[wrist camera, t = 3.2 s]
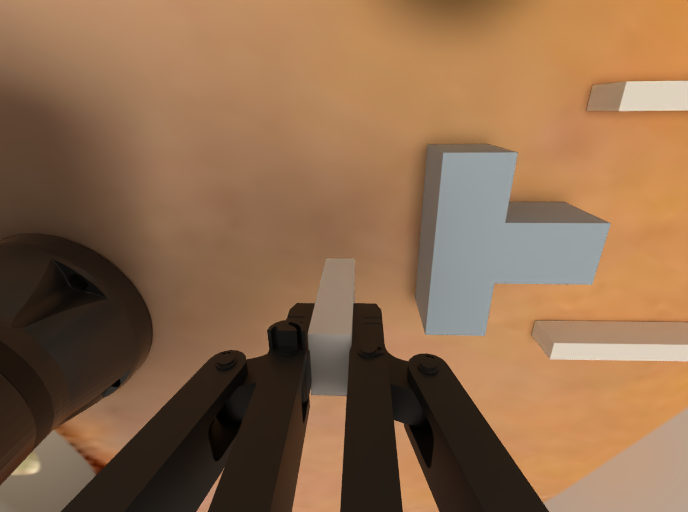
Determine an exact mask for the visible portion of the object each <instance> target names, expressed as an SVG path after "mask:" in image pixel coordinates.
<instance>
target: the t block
mask: <svg viewBox="0 0 688 512" xmlns="http://www.w3.org/2000/svg"><path fill="white" fill-rule="evenodd" d="M517 154H518V152H515V151H511V150H507V149H504V148H500V147H497V146H493V145H490V144H428V145H427V157H426V170H425V182H424V195H423V207H422V219H421V232H420V244H419V257H418V269H417V281H416V294H415V299H416V303H417V306H418V310H419V313H420V317H421V321H422V324H423V328H424V331H425V335H473V336H485V333H486V327H487V321H488V316H489V310H490V305H491V299H492V294H493V288H494V283H507V284H587V285H592V283H593V280H594V277H595V273H596V270H597V267H598V264H599V260H600V257H601V254H602V250H603V247H604V244H605V241H606V237H607V234H608V231H609V227H610V224H611V223H609V222H607V221H604V220H602V219H600V218H598V217H596V216H594V215H592V214H589V213H587V212H585V211H583V210H581V209H579V208H576V207H574V206H572V205H570V204H568V203H566V202H509V199H510V193H511V188H512V182H513V177H514V171H515V165H516V160H517Z"/></svg>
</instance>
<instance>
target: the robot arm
mask: <svg viewBox="0 0 688 512" xmlns="http://www.w3.org/2000/svg"><path fill="white" fill-rule="evenodd" d="M267 332H268V341H269V352H268V354H266V355H264V356H260V357H257V358H252V359H247V360H246V356H245V355H244V354H243V353H242V352H239V351H235V350H229V351H224V352H221V353H218V354H216V355H214V356H213V357H212V358H210V359H209V360H208V361H207V362H206V363H205V364H204V365H203V366H202V367H201V369H200V370H199V371H198V372H197V373H196V374H195V375H194V376H193V377H192V378H191V379H190V380H189V381H188V382H187V383H186V384H185V385H184V386H183V387H182V388H181V389H180V390H179V391H178V392H177V393H176V394H175V395H174V396H173V397H172V398H171V399H170V400H169V401H168V402H167V403H166V404H165V405H164V406H163V407H162V408H161V410H160V411H159V412H158V413H157V414H156V415H155V416H154V417H153V418H152V419H151V420H150V421H149V422H148V423H147V424H146V425H145V426H144V427H143V428H142V429H141V430H140V431H139V432H138V433H137V434H136V435H135V436H134V437H133V438H132V439H131V440H130V441H129V442H128V443H127V444H126V445H125V446H124V447H123V448H122V449H121V451H120V452H119V453H118V454H117V455H116V456H115V457H114V458H113V459H112V460H111V461H110V462H109V463H108V464H107V465H106V466H105V467H104V468H103V469H102V470H101V471H100V472H99V473H98V474H97V475H96V476H95V477H94V478H93V479H92V480H91V481H90V482H89V483H88V484H87V485H86V486H85V487H84V489H82V490H81V492H80V493H79V494H78V495H77V496H76V497H75V498H74V499H73V500H72V501H71V502H70V503H69V504H68V505H67V506H66V507H65V508H64V509H63V510H62V511H61V512H196V511H197V510H198V508H199V506H200V505H201V503H202V502H203V500H204V499H205V497H206V495H207V494H208V492H209V491H210V489H211V488H212V486H213V485H214V483H215V481H216V480H217V478H218V477H219V475H220V474H221V472H222V471H223V473H222V476H221V478H220V481H219V484H218V486H217V489H216V491H215V494H214V497H213V499H212V502H211V505H210V507H209V510H208V512H292V507H293V501H294V495H295V489H296V484H297V478H298V472H299V466H300V460H301V455H302V449H303V443H304V437H305V431H306V426H307V420H308V414H309V408H310V401H309V394H310V388H311V395H334V396H347V403H346V421H345V438H344V456H343V474H342V491H341V509H340V512H403V510H402V499H401V489H400V479H399V469H398V459H397V449H396V438H395V428H394V420H396V421H399V422H402V423H404V427H405V430H406V433H407V435H408V437H409V440H410V442H411V444H412V447H413V449H414V452H415V454H416V456H417V459H418V461H419V464H420V466H421V468H422V471H423V473H424V476H425V478H426V480H427V483H428V485H429V488H430V490H431V492H432V495H433V497H434V500H435V502H436V504H437V507H438V509H439V512H549V511H548V510H547V508H546V507H545V505H544V504H543V502H542V501H541V499H540V498H539V496H538V495H537V494H536V492H535V491H534V489H533V488H532V486H531V485H530V483H529V482H528V481H527V479H526V478H525V476H524V475H523V473H522V472H521V470H520V469H519V468H518V466H517V465H516V463H515V462H514V460H513V459H512V457H511V456H510V454H509V453H508V452H507V450H506V449H505V447H504V446H503V444H502V443H501V441H500V440H499V439H498V437H497V436H496V434H495V433H494V431H493V430H492V428H491V427H490V425H489V424H488V423H487V421H486V420H485V418H484V417H483V415H482V414H481V412H480V411H479V410H478V408H477V407H476V405H475V404H474V402H473V401H472V399H471V398H470V397H469V395H468V394H467V392H466V391H465V389H464V388H463V386H462V385H461V383H460V382H459V381H458V379H457V378H456V376H455V375H454V373H453V372H452V370H451V369H450V368H449V366H448V365H447V363H446V362H445V361H444V360H443V359H441V358H439V357H437V356H435V355H431V354H418V355H415V356H413V357H412V358H411V359H410V360H409V361H405V360H401V359H398V358H396V357H394V356H392V355H391V354H390V353H388V351H387V350H386V348H385V344H384V334H383V324H382V313H381V309H380V308H379V307H378V306H377V304H365V303H355V259H354V258H326V260H325V264H324V269H323V273H322V277H321V281H320V285H319V289H318V293H317V297H316V302H315V304H314V303H297V304H295V305H294V306H293V307H292V308H291V309H290V311H289V314H288V317H287V319H286V320H284V321H280V322H277V323H275V324H273V325H271V326H270V327H269V329H268V330H267ZM151 341H152V327H151V321H150V317H149V314H148V311H147V308H146V306H145V304H144V302H143V300H142V298H141V297H140V295H139V293H138V292H137V290H136V289H135V288H134V286H133V285H132V284H131V282H130V281H129V280H128V279H127V278H126V277H125V276H124V275H123V274H122V273H121V272H120V271H119V270H118V269H117V268H116V267H115V266H113V265H112V264H111V263H110V262H108V261H107V260H106V259H104V258H103V257H101V256H100V255H98V254H97V253H95V252H93V251H91V250H90V249H88V248H86V247H84V246H81V245H79V244H77V243H74V242H71V241H69V240H65V239H62V238H58V237H54V236H48V235H40V234H25V235H17V236H12V237H9V238H5V239H3V240H0V485H1V484H2V483H3V482H4V481H5V480H6V479H7V478H8V477H9V476H10V475H11V474H12V473H13V471H14V470H15V469H16V468H17V467H18V466H19V465H20V464H21V463H22V462H23V461H24V460H25V459H26V458H27V456H28V455H29V454H30V453H31V452H32V451H33V450H34V449H35V448H36V447H37V446H38V445H39V444H40V443H41V441H42V440H43V439H45V438H46V436H47V435H48V434H49V433H50V432H51V431H52V430H54V429H55V428H57V427H59V426H60V425H62V424H63V423H65V422H67V421H68V420H70V419H71V418H73V417H75V416H76V415H78V414H79V413H81V412H83V411H84V410H86V409H88V408H89V407H91V406H92V405H94V404H95V403H97V402H98V401H100V400H101V399H103V398H104V397H107V396H108V395H110V394H112V393H113V392H115V391H116V390H118V389H119V388H120V387H121V386H123V385H124V384H125V383H126V382H127V381H128V380H129V379H130V378H131V376H132V375H133V374H134V373H135V372H136V371H137V369H138V368H139V367H140V366H141V365H142V363H143V362H144V360H145V359H146V357H147V355H148V353H149V350H150V347H151ZM224 467H225V468H224ZM223 469H224V470H223Z"/></svg>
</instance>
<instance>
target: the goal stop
mask: <svg viewBox="0 0 688 512" xmlns="http://www.w3.org/2000/svg"><path fill="white" fill-rule="evenodd" d="M678 110H688V81H630V82H617V83H607V84H597V85H592V90H591V94H590V98H589V102H588V106H587V110H586V111H678ZM532 337H533V338H534V339H535V341H536V342H537V343H538V345H539V346H540V347H541V348H542V350H543V351H544V352H545V354H546V355H547V356H548V358H549V359H569V360H638V361H688V322H630V321H536V320H535V324H534V328H533V332H532Z"/></svg>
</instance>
